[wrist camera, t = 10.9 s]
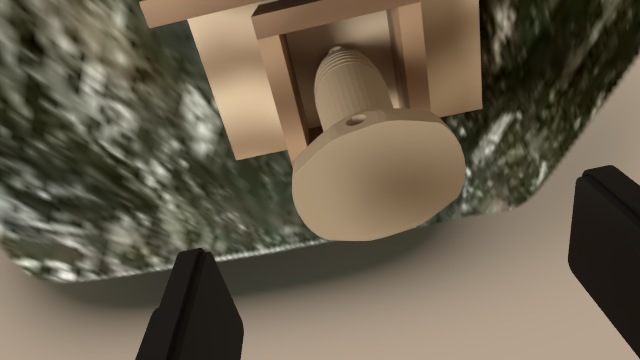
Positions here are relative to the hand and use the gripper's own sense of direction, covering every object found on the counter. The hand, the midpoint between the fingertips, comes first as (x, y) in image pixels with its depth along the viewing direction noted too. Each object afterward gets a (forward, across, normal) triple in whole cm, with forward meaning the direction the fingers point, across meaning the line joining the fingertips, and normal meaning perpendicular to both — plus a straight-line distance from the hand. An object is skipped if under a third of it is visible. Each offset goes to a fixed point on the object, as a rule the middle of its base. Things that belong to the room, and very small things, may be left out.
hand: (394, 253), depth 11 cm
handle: (+20, 0, +1) cm, 20 cm away
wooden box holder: (+21, 0, 0) cm, 21 cm away
